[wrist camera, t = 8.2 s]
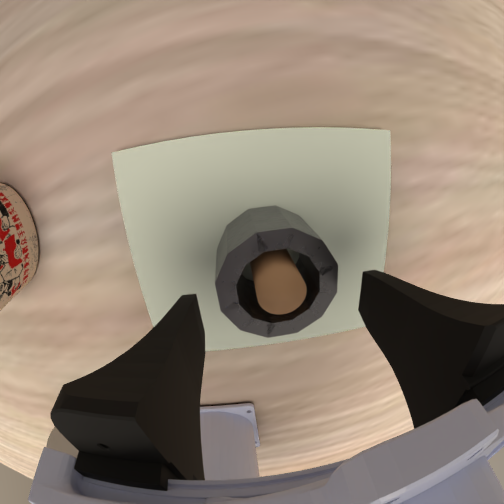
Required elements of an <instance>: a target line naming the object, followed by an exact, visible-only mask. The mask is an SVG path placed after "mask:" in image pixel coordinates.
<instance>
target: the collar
mask: <svg viewBox="0 0 504 504" xmlns="http://www.w3.org/2000/svg"><path fill="white" fill-rule="evenodd" d="M287 248H288V249H291V250H294V251H296V252H299V259H298V260H297V262H296V264H295V265H296V267H297V269H298V271H299V273H300V274H301V276H302V278H303V280H304V282H305V284H306V289H307V292H306V297H305V299H304V301H303V302H302V304H301V305H300V306H299V307H298V308H297V309H295V310H294V311H292V312H289V313H286V314H280V315H279V314H272V313H269V312H267V311H265V310H264V309H263V308H262V307H261V306H260V305H259V303H258V300H257V295H256V290H255V285H254V281H252V280H249V279H246V278H245V277H244V275H243V274H242V271H243V269H244V267H245V265H247V264H248V263H249V262H251V261H252V260H254V259H255V258H256V257H258V256H259V255H261V254H262V253H263V252H266V251H273V250H280V249H287ZM337 284H338V264H337V262H336V260H335V259H334V257H333V256H332V254H331V253H330V251H329V249H328V248H327V246H326V245H325V243H324V242H323V240H322V239H321V238H320V237H319V236H318V235H317V234H316V233H315V231H314V230H313V229H312V228H311V227H310V226H309V225H308V224H307V223H306V222H305V221H304V220H303V219H302V218H301V217H300V216H299V215H297V214H295V213H293V212H290V211H288V210H286V209H283V208H281V207H278V206H276V205H274V206H266V207H258V208H251V209H247V210H246V211H245V212H243V213H242V214H241V215H239V216H238V217H237V218H235V219H234V220H233V221H231V222H230V223H229V224H227V225H226V228H225V230H224V233H223V235H222V237H221V240H220V242H219V245H218V247H217V254H216V270H215V287H216V292H217V296H218V301H219V306H220V311H221V312H222V313H223V314H224V315H225V316H226V317H227V318H228V319H229V320H230V321H231V322H232V323H233V324H234V325H235V326H236V327H237V328H238V329H240V330H241V331H244V332H248V333H252V334H255V335H259V336H263V337H267V338H270V337H276V336H282V335H288V334H294V333H298V332H299V331H301V330H303V329H304V328H306V327H307V326H309V325H310V324H312V323H313V322H315V321H316V320H318V319H319V318H321V317H322V316H323V314H324V313H325V311H326V310H327V308H328V306H329V305H330V303H331V302H332V300H333V298H334V297H335V295H336V293H337Z"/></svg>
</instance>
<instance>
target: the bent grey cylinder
mask: <svg viewBox="0 0 504 504" xmlns="http://www.w3.org/2000/svg"><path fill="white" fill-rule="evenodd" d="M47 447H48V448H51V449H55V450H58V451H61V452H65V453H67V454H70V455H72V456H74V457H76V458H77V455H78V452H79V451H78V450H77V449H76V448H75V447H74V446H73V445H72V444H71V443H70V442H69V441H68V440H67V439H66V438H65V437H64V436H63V435H62V434H61V433H60V432H59V431H58V429H57V428H56V427H54V429H53V430H52V432H51V434H50V436H49V438H48V441H47Z"/></svg>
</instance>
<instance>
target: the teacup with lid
mask: <svg viewBox="0 0 504 504" xmlns="http://www.w3.org/2000/svg"><path fill="white" fill-rule="evenodd" d="M37 263H38V240H37V234H36V229H35V226H34V222H33V220H32V217H31V214H30V212H29V210H28V208H27V206H26V204H25V203H24V201H23V200H22V198H21V197H20V196H19V195H18V193H17V192H16V191H15V190H13V189H12V188H11V187H9V186H7V185H5V184H2V183H0V311H1V310H2V309H3V308H4V307H5V306H6V304H7V303H8V302H9V301H10V300H11V299H12V298H13V297H14V296H15V295H16V294H17V293H18V292H19V291H20V290H21V289H22V288H23V287H24V286H25V285H27V284H28V283H29V281H30V280H31V279H32V277H33V276H34V273H35V271H36V268H37Z"/></svg>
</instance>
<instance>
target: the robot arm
mask: <svg viewBox="0 0 504 504" xmlns="http://www.w3.org/2000/svg"><path fill="white" fill-rule="evenodd" d="M358 311H359V313H360V315H361V318H362V320H363V322H364V324H365V326H366V328H367V329H368V331H369V332H370V334H371V335H372V337H373V339H374V340H375V342H376V343H377V345H378V346H379V348H380V349H381V351H382V352H383V354H384V355H385V357H386V358H387V360H388V362H389V363H390V365H391V367H392V369H393V371H394V373H395V375H396V377H397V379H398V382H399V384H400V386H401V389H402V391H403V394H404V396H405V399H406V402H407V405H408V408H409V411H410V414H411V417H412V421H413V425H414V429H413V430H411V431H409V432H406V433H404V434H402V435H399V436H397V437H394V438H392V439H389V440H387V441H384V442H382V443H380V444H378V445H376V446H373V447H371V448H369V449H366V450H364V451H362V452H360V453H358V454H357V455H355V456H353V457H352V458H350V459H346V460H343V461H339V462H336V463H332V464H328V465H324V466H320V467H316V468H311V469H307V470H302V471H296V472H291V473H285V474H279V475H272V476H264V477H259V469H258V462H257V454H256V447H259V446H260V441H259V435H258V429H257V423H256V416H255V410H254V405H253V404H252V403H244V404H234V405H222V406H206V407H200V394H201V385H202V376H203V368H204V359H205V330H204V326H203V322H202V317H201V313H200V308H199V304H198V299H197V295H196V294H188V295H182V296H181V297H180V298H179V299H178V300H177V301H176V303H175V304H174V305H173V306H172V307H171V309H170V310H169V311H168V312H167V313H166V314H165V316H164V317H163V318H162V319H161V320H160V321H159V322H158V323H157V324H156V325H155V326H154V327H153V329H152V330H151V331H150V332H149V333H148V334H147V335H146V336H145V337H143V338H142V339H141V340H140V341H139V342H138V343H137V344H135V345H134V346H133V347H132V348H130V349H129V350H128V351H126V352H125V353H124V354H122V355H121V356H119V357H118V358H116V359H115V360H113V361H112V362H110V363H109V364H107V365H105V366H104V367H102V368H100V369H98V370H96V371H94V372H92V373H90V374H88V375H86V376H84V377H82V378H79V379H77V380H74V381H72V382H70V383H67V384H64V385H63V387H62V389H61V391H60V393H59V396H58V398H57V400H56V402H55V404H54V407H53V409H52V411H51V419H52V422H53V424H54V426H55V427H56V428H57V429H58V431H59V432H60V433H61V434H62V435H63V436H64V437H65V438H66V439H67V440H68V441H69V442H70V443H71V444H72V445H73V446H74V447H75V448H76V449H77V450H78V451H79V452H78V455H77V458H76V457H74V456H72V455H70V454H67V453H65V452H61V451H58V450H55V449H51V448H48V447H44V449H43V451H42V454H41V457H40V460H39V463H38V466H37V470H36V473H35V476H34V480H33V483H32V487H31V491H30V494H29V498H28V501H29V502H30V503H31V504H504V490H503V488H502V486H501V484H500V482H499V480H498V478H497V477H496V475H495V473H494V471H493V469H492V468H491V466H490V464H489V462H488V461H487V460H488V459H490V458H491V457H492V456H493V455H494V454H496V453H497V452H498V451H499V450H500V449H501V448H502V447H504V304H483V303H475V302H468V301H463V300H458V299H454V298H450V297H446V296H443V295H439V294H436V293H433V292H430V291H428V290H425V289H422V288H420V287H417V286H415V285H412V284H410V283H408V282H405V281H403V280H401V279H398V278H396V277H393V276H391V275H389V274H386V273H383V272H381V271H377V270H369V271H363V273H362V282H361V291H360V299H359V307H358Z"/></svg>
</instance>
